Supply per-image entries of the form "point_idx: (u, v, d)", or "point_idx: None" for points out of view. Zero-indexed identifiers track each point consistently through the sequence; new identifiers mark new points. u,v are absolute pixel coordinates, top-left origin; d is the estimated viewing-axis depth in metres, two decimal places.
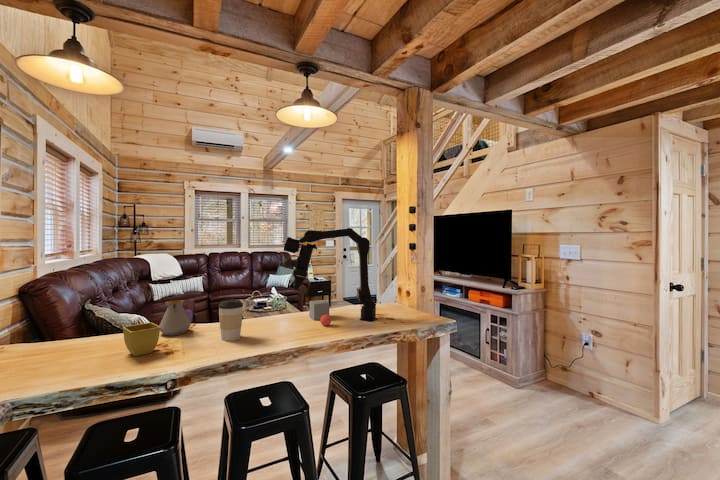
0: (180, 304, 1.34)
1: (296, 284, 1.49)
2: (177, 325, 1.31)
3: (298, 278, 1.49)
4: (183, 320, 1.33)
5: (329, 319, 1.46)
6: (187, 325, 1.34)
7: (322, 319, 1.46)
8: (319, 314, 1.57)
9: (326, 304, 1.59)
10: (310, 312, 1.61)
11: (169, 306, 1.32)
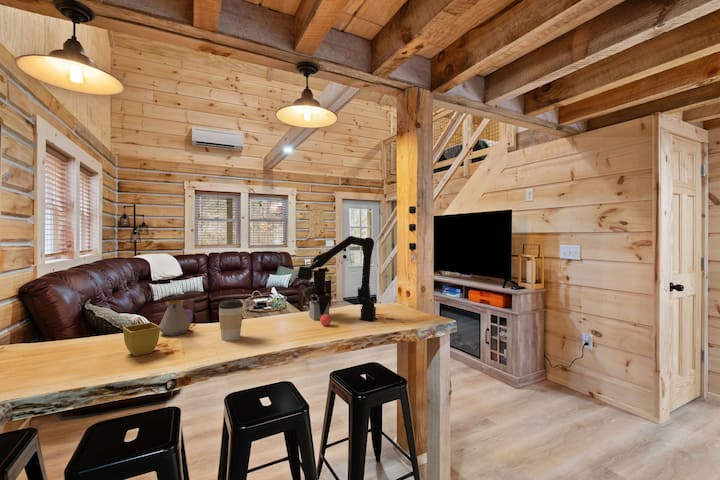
0: (180, 304, 1.34)
1: (322, 309, 1.57)
2: (177, 325, 1.31)
3: (322, 303, 1.56)
4: (183, 320, 1.33)
5: (329, 319, 1.46)
6: (187, 325, 1.34)
7: (322, 319, 1.46)
8: (319, 314, 1.57)
9: None
10: (310, 312, 1.61)
11: (169, 306, 1.32)
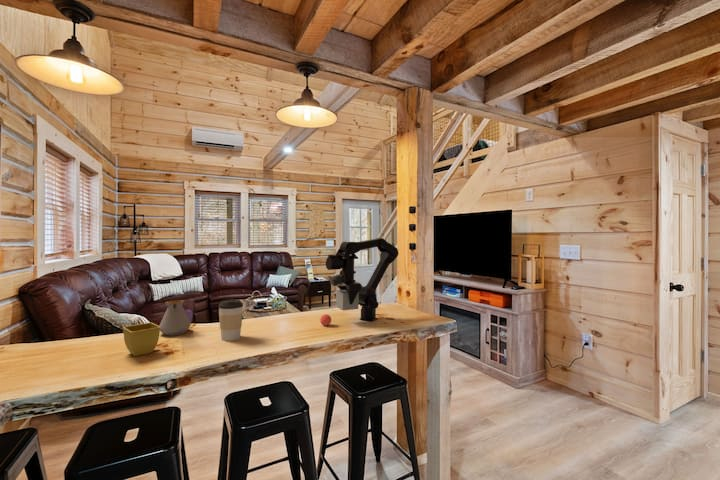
0: (180, 304, 1.34)
1: (351, 298, 1.48)
2: (177, 325, 1.31)
3: (352, 292, 1.48)
4: (183, 320, 1.33)
5: (329, 319, 1.46)
6: (187, 325, 1.34)
7: (322, 319, 1.46)
8: (348, 304, 1.48)
9: None
10: (338, 302, 1.53)
11: (169, 306, 1.32)
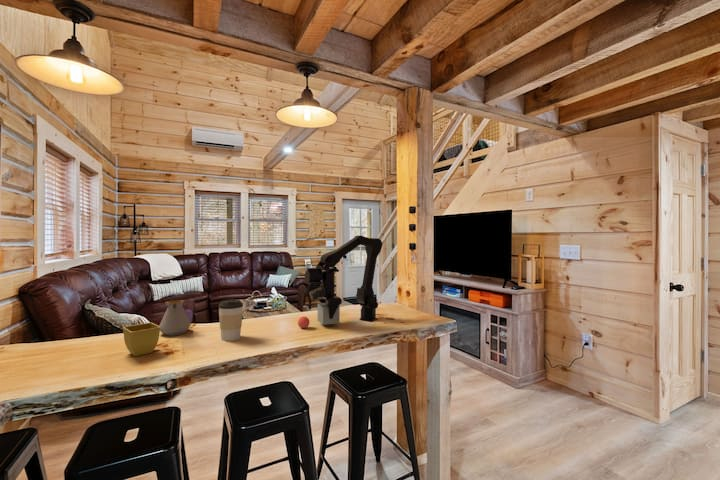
0: (180, 304, 1.34)
1: (331, 313, 1.44)
2: (177, 325, 1.31)
3: (331, 306, 1.43)
4: (183, 320, 1.33)
5: (304, 326, 1.42)
6: (187, 325, 1.34)
7: (308, 320, 1.43)
8: (328, 318, 1.45)
9: None
10: (318, 316, 1.49)
11: (169, 306, 1.32)
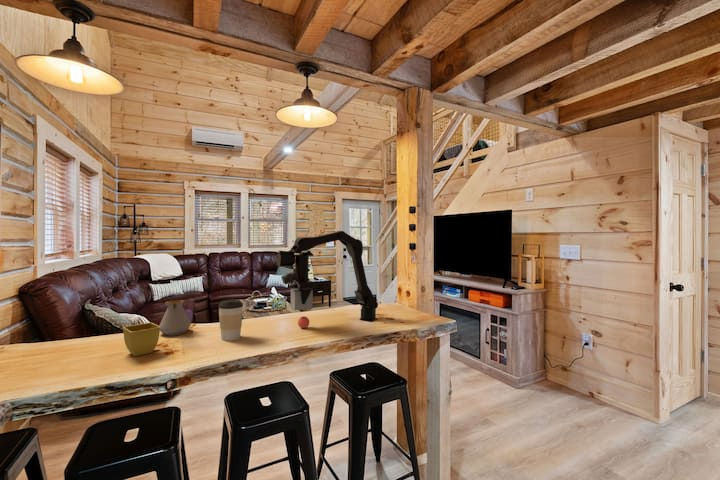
0: (180, 304, 1.34)
1: (303, 298, 1.38)
2: (177, 325, 1.31)
3: (304, 291, 1.38)
4: (183, 320, 1.33)
5: (304, 326, 1.42)
6: (187, 325, 1.34)
7: (308, 320, 1.43)
8: (301, 303, 1.39)
9: None
10: (291, 301, 1.43)
11: (169, 306, 1.32)
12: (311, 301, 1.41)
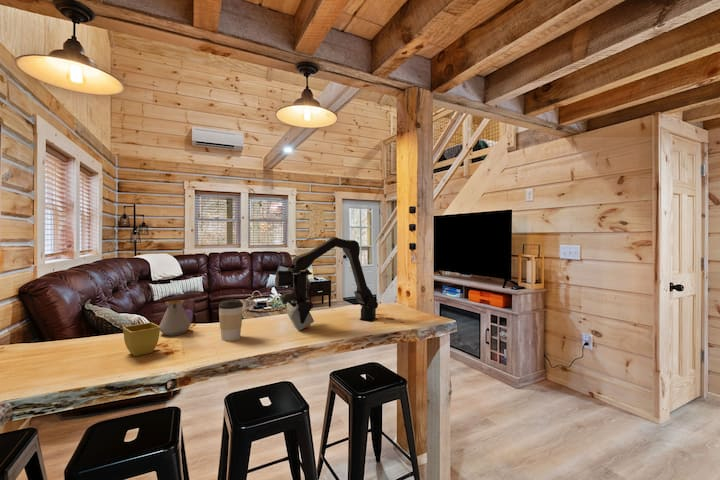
0: (180, 304, 1.34)
1: (302, 317, 1.38)
2: (177, 325, 1.31)
3: (302, 311, 1.38)
4: (183, 320, 1.33)
5: None
6: (187, 325, 1.34)
7: None
8: None
9: None
10: (292, 322, 1.44)
11: (169, 306, 1.32)
12: (310, 315, 1.41)
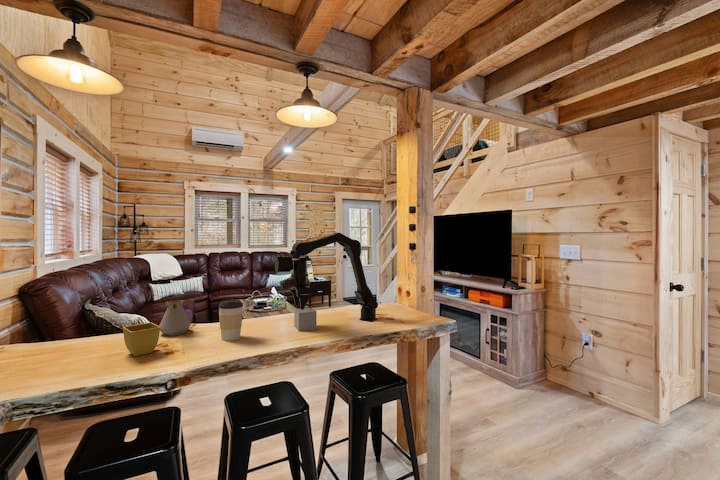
0: (180, 304, 1.34)
1: (302, 303, 1.37)
2: (177, 325, 1.31)
3: (302, 297, 1.37)
4: (183, 320, 1.33)
5: None
6: (187, 325, 1.34)
7: None
8: (305, 324, 1.40)
9: (313, 313, 1.41)
10: (295, 321, 1.44)
11: (169, 306, 1.32)
12: (315, 322, 1.42)
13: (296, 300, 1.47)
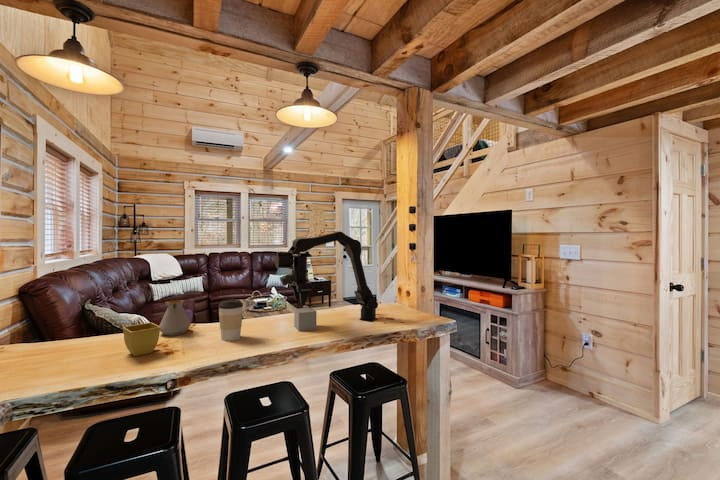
0: (180, 304, 1.34)
1: (302, 299, 1.37)
2: (177, 325, 1.31)
3: (303, 292, 1.37)
4: (183, 320, 1.33)
5: None
6: (187, 325, 1.34)
7: None
8: (305, 324, 1.40)
9: (313, 313, 1.41)
10: (295, 321, 1.44)
11: (169, 306, 1.32)
12: (315, 322, 1.42)
13: (296, 296, 1.47)
